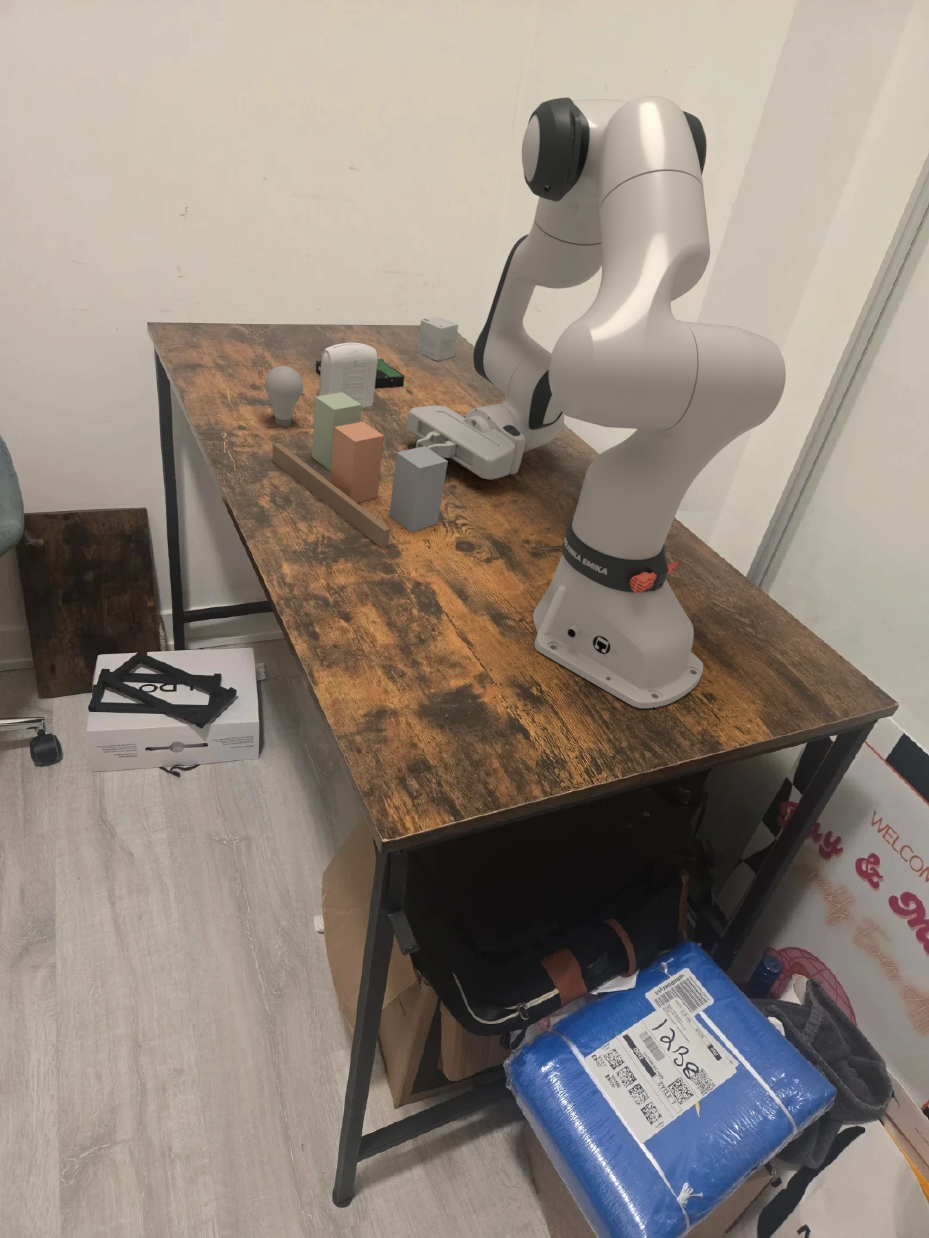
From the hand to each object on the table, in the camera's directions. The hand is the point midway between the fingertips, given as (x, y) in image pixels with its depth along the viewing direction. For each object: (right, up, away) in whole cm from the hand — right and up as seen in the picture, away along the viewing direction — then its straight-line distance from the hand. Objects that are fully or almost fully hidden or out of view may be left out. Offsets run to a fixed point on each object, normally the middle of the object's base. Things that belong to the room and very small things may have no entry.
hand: (421, 449), depth 122 cm
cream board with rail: (-8, -8, -2) cm, 11 cm away
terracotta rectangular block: (-10, -8, -5) cm, 13 cm away
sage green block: (-14, -1, +2) cm, 14 cm away
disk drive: (-14, +21, +36) cm, 44 cm away
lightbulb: (-24, +5, +11) cm, 27 cm away
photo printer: (-15, +11, +22) cm, 29 cm away
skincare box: (0, +32, +54) cm, 63 cm away
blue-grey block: (-1, -12, -8) cm, 15 cm away
